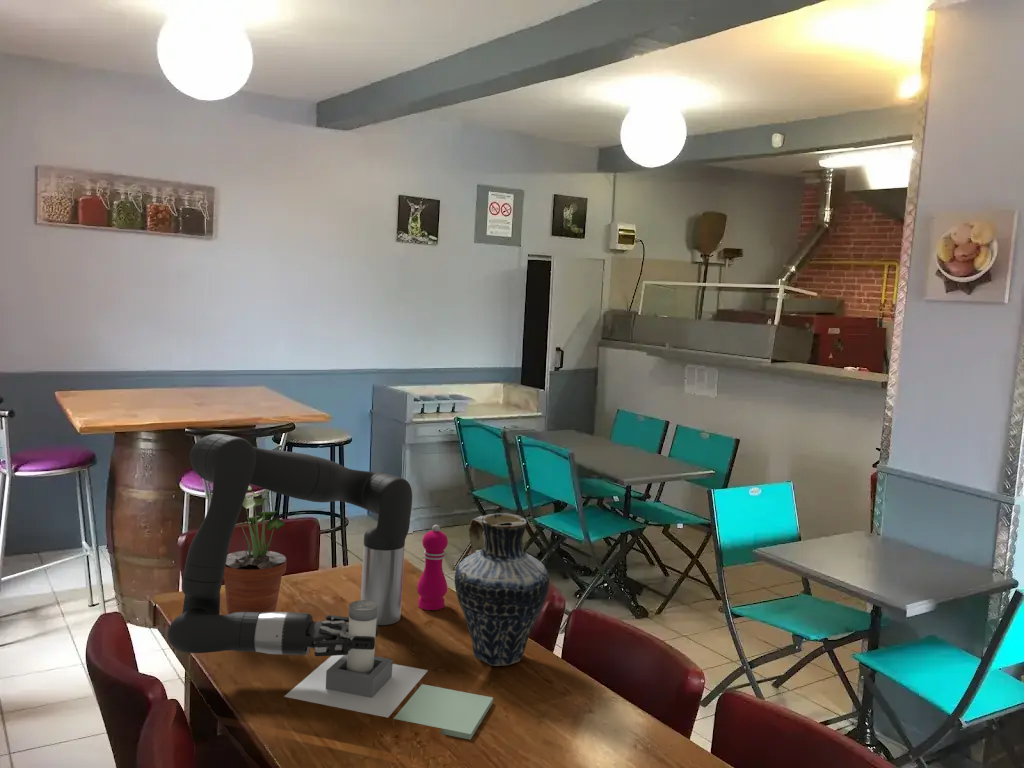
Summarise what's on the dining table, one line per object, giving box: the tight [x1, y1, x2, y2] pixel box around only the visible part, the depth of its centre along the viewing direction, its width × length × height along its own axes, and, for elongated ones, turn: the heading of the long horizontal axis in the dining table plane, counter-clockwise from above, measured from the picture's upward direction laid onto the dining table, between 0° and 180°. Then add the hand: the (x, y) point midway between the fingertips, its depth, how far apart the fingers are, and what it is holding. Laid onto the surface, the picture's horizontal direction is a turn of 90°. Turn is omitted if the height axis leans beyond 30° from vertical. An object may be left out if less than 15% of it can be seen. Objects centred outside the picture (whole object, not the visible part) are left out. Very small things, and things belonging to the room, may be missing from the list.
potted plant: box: [223, 485, 288, 615], centre depth 186 cm, size 16×15×35 cm
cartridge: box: [347, 599, 378, 675], centre depth 156 cm, size 5×5×15 cm
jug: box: [454, 512, 550, 667], centre depth 173 cm, size 21×19×30 cm
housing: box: [283, 655, 429, 718], centre depth 157 cm, size 20×20×4 cm
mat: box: [393, 683, 494, 740], centre depth 150 cm, size 14×14×1 cm
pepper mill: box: [416, 524, 449, 611], centre depth 200 cm, size 7×7×20 cm
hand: (375, 637), depth 157 cm, fingers closed on cartridge, 5 cm apart
